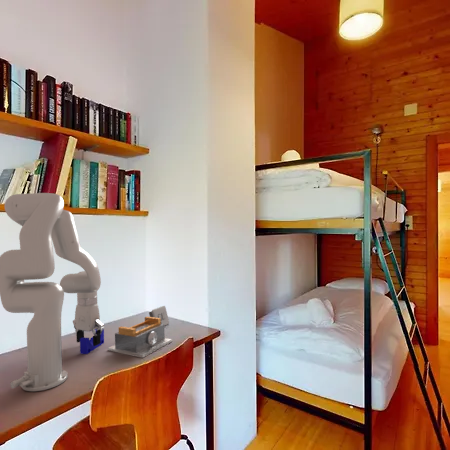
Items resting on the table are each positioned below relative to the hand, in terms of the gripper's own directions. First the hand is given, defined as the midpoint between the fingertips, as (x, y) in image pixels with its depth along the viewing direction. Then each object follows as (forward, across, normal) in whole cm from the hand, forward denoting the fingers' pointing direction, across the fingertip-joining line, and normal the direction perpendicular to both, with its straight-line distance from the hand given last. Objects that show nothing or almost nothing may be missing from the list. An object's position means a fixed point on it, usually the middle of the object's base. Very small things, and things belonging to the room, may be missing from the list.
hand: (88, 343), depth 128 cm
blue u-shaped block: (+2, +1, 0) cm, 3 cm away
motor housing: (+2, +19, +10) cm, 22 cm away
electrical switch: (+2, +9, +34) cm, 35 cm away
